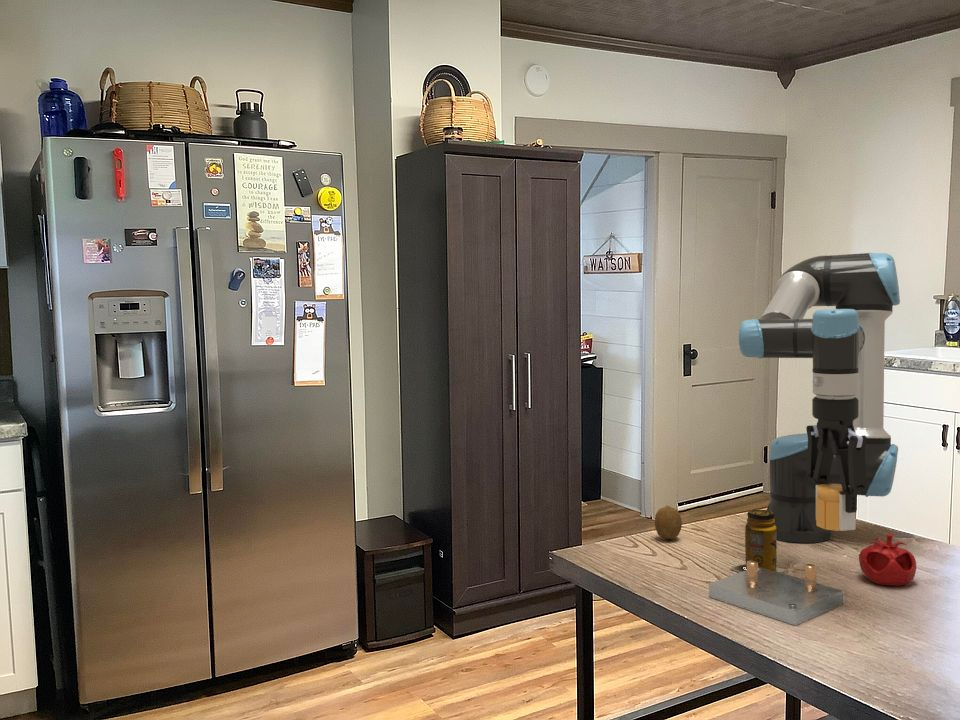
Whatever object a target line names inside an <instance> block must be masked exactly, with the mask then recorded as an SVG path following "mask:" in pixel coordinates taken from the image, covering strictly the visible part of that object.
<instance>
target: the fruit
mask: <svg viewBox="0 0 960 720" xmlns="http://www.w3.org/2000/svg"><path fill="white" fill-rule="evenodd" d="M682 523H683V522H682V516H681V514H680V512H679V510H678V509H676V508H675V507H672V506H670V505H666V506H664V507H661V508H660V507H659V509H658V510H657V511H656V513H655V515H654V528H655V531H656V532H657V535H658V536H660V537H661V538H663V539H664V540H666V541H671V540H673V539H675V538H677V537H678V536H679V535H680V533H681V531H682Z"/></svg>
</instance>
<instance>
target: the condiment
mask: <svg viewBox="0 0 960 720" xmlns="http://www.w3.org/2000/svg"><path fill="white" fill-rule="evenodd" d="M746 515H747V519H746V521H747V523H746V524H745V527H744V528H745V534H744V535H745V536H744V537H745V541H744V542H745V544H744V545H745V549H744V550H745V564H739V565H737V566H735V567H734V566H733V567H730V568H729V569H730V570H732V571H735V572H737V573H740V572H743V571H746V570H744V569H745V568H744V569H743V567H746V569H747V561H757V562H758V567H761V568H765V569H768V570H772V571H775V572H779V573H782V572H785V571H786V569H784V568H781V567H777V564H778V563H777V558H778V557H777V548H778V546H777V539H776V535H777V531H776V526H775V525H774V523H775V520H774V513H773V512H771V511H768V510H767V509H750V510H749V511H747V513H746Z"/></svg>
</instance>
